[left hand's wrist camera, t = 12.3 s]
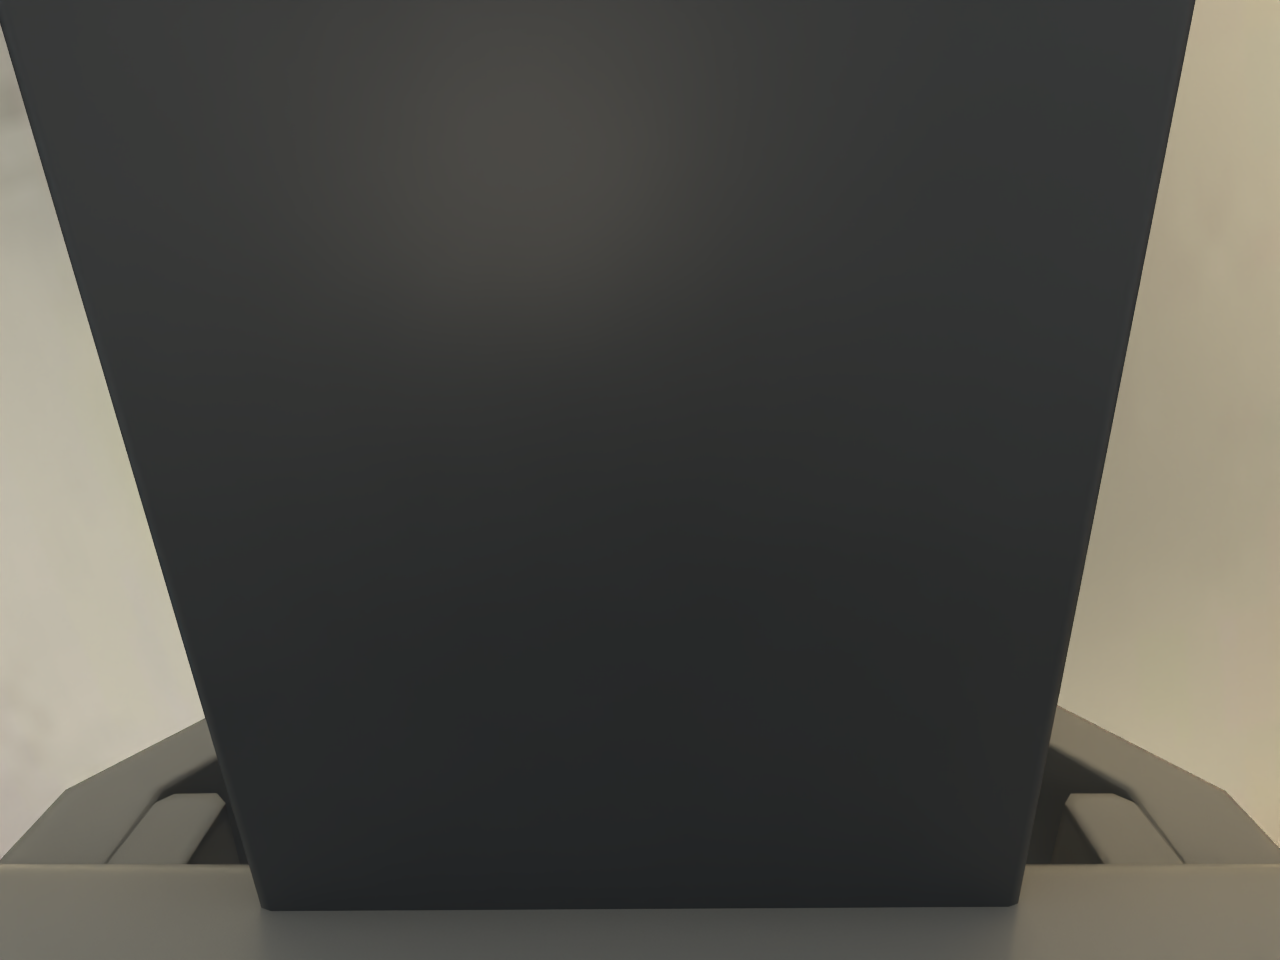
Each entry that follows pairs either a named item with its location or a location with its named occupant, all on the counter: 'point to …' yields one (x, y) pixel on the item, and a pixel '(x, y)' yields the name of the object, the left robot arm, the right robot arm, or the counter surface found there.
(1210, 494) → the counter surface
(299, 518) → the post
